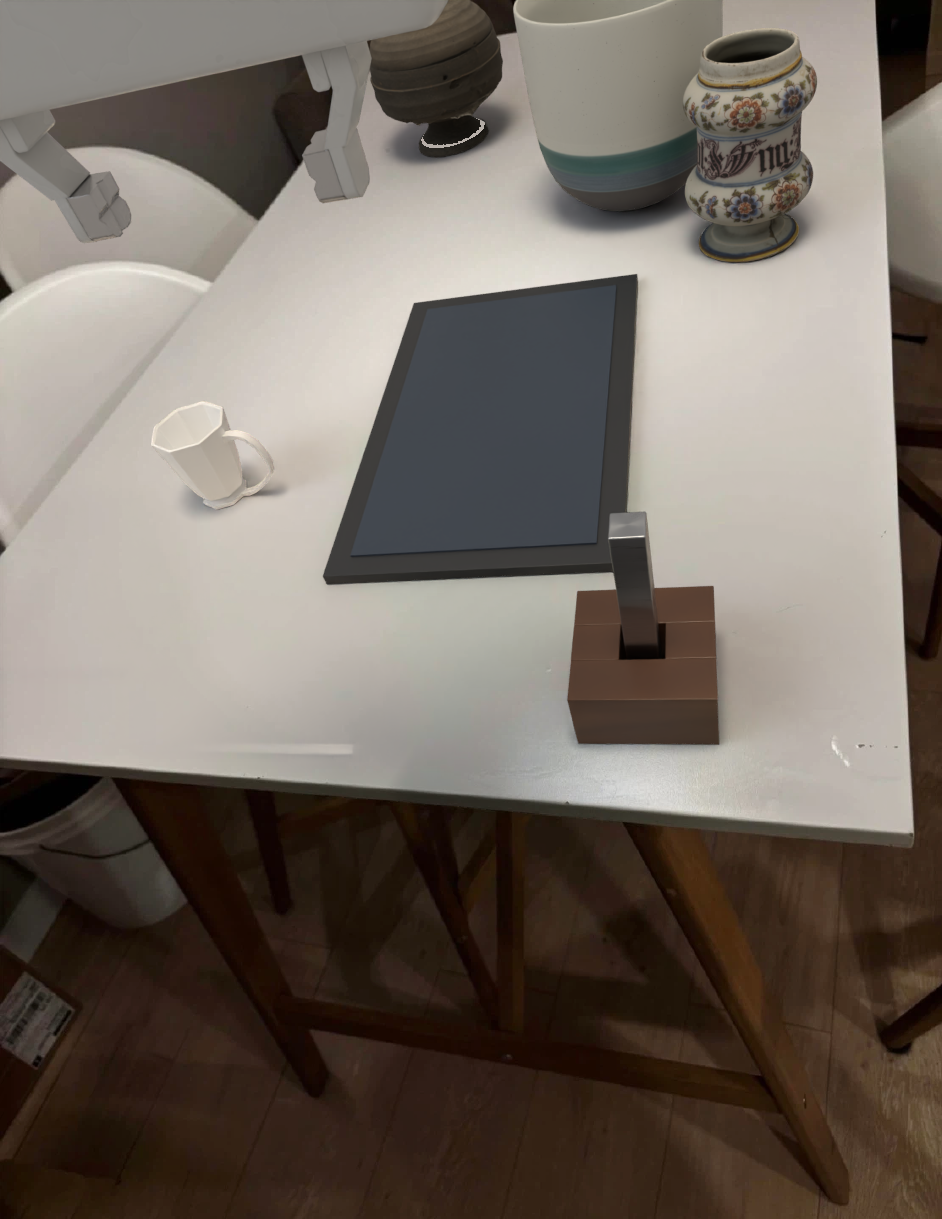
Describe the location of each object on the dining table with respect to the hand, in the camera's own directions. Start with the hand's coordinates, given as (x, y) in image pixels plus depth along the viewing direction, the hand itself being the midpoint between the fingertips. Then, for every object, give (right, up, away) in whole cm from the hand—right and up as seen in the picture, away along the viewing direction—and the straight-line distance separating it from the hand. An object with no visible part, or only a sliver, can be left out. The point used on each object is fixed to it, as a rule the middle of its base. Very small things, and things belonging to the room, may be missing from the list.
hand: (223, 214), depth 31 cm
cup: (-13, -3, +52) cm, 53 cm away
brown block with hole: (+21, -19, +28) cm, 39 cm away
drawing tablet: (+11, +4, +50) cm, 52 cm away
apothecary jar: (+37, +24, +61) cm, 75 cm away
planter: (+28, +34, +72) cm, 84 cm away
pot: (+6, +52, +94) cm, 108 cm away
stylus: (+21, -19, +28) cm, 39 cm away
